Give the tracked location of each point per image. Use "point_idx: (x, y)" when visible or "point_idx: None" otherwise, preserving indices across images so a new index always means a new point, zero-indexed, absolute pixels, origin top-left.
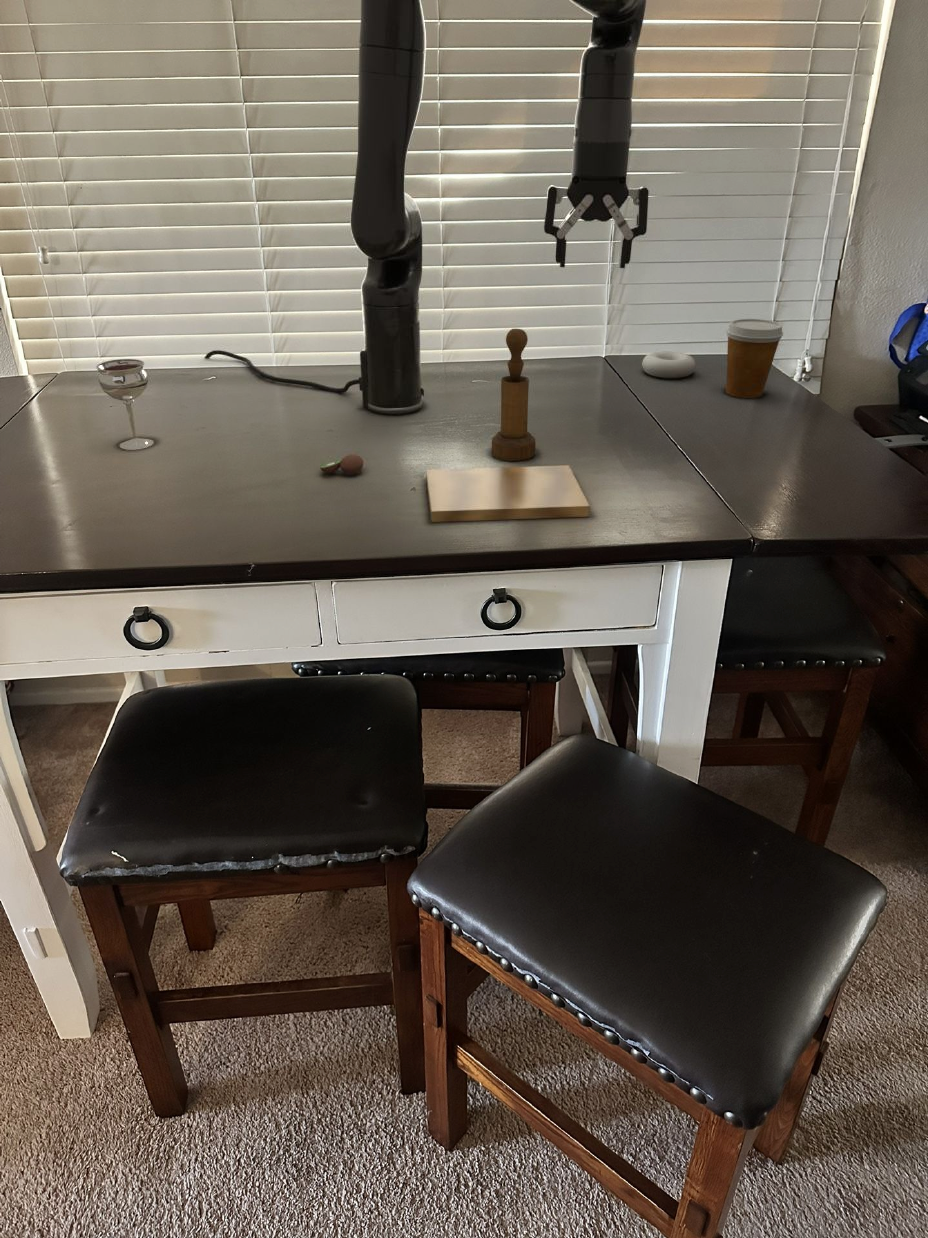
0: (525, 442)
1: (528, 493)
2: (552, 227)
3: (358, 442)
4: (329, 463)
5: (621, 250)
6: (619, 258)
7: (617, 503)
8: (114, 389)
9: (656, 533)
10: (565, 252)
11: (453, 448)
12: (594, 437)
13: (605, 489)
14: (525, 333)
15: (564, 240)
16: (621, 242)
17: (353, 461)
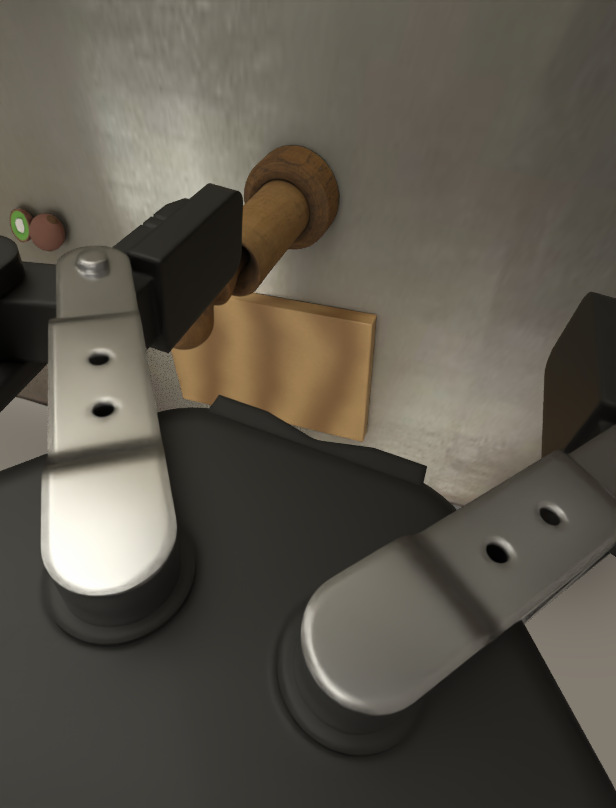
0: (303, 244)
1: (293, 392)
2: (35, 373)
3: (4, 66)
4: (15, 215)
5: (547, 423)
6: (586, 322)
7: (417, 414)
8: None
9: (431, 482)
10: (203, 309)
11: (183, 138)
12: (513, 115)
13: (418, 374)
14: (196, 342)
15: (159, 345)
16: (572, 420)
17: (48, 249)
